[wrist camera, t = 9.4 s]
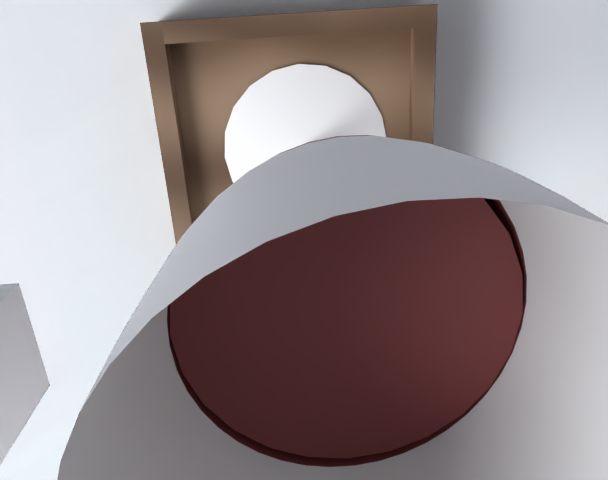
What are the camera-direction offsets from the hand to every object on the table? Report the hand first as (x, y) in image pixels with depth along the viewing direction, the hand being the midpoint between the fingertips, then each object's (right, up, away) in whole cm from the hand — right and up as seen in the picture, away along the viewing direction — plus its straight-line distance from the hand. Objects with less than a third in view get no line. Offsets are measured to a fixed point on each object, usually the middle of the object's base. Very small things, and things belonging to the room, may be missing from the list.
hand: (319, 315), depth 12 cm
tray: (-1, +7, +19) cm, 20 cm away
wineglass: (0, +7, +16) cm, 18 cm away
